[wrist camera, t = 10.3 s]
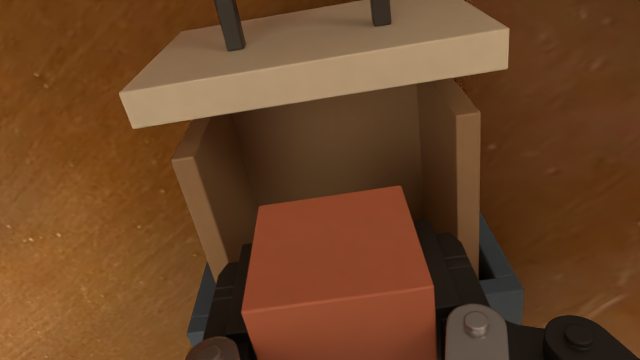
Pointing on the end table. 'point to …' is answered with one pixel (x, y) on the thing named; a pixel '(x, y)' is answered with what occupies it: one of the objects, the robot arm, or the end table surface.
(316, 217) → the block
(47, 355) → the end table surface
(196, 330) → the cabinet
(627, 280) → the end table surface
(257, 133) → the drawer
